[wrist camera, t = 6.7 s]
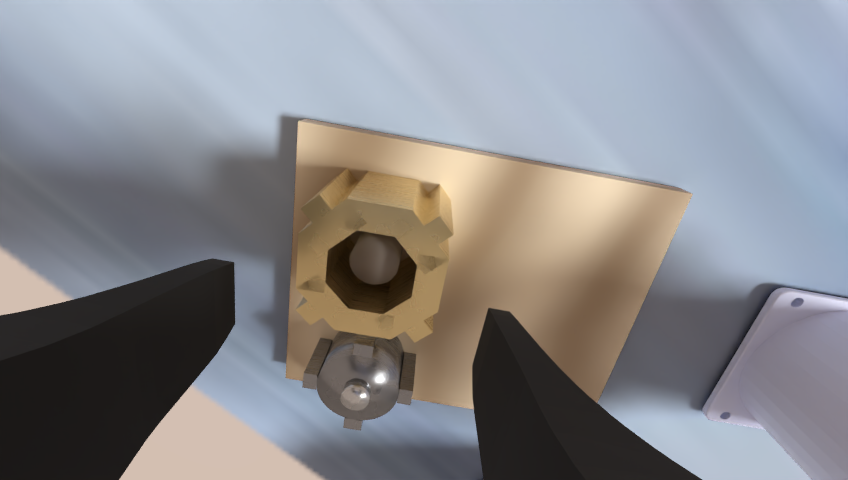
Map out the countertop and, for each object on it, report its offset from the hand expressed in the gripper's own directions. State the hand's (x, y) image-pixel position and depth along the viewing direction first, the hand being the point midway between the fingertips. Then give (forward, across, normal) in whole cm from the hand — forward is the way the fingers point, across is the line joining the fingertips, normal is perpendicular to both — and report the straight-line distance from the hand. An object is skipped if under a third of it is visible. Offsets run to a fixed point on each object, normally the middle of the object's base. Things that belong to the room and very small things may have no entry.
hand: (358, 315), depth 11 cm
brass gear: (+6, 0, 0) cm, 6 cm away
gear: (+6, 0, +6) cm, 9 cm away
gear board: (+7, -4, +2) cm, 9 cm away
